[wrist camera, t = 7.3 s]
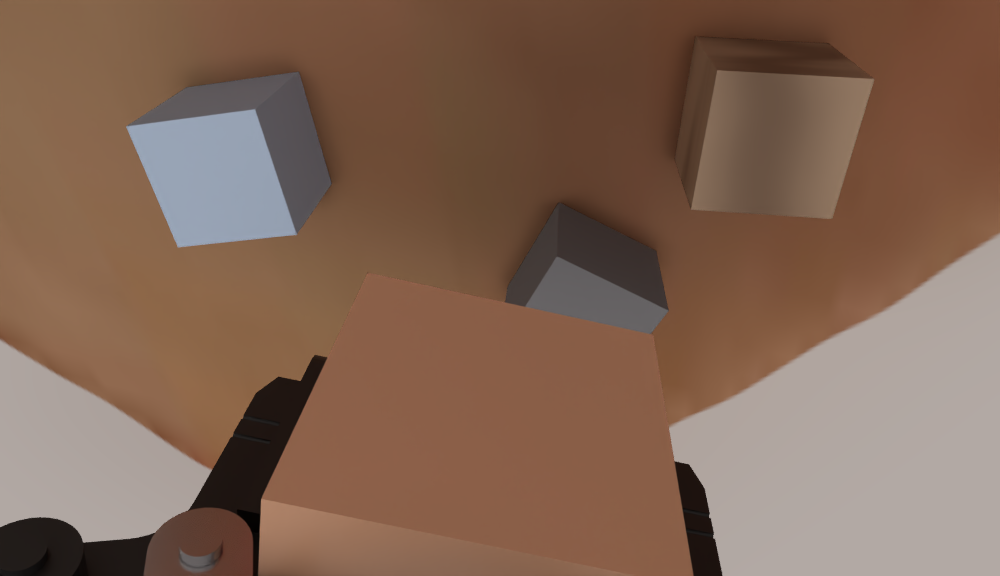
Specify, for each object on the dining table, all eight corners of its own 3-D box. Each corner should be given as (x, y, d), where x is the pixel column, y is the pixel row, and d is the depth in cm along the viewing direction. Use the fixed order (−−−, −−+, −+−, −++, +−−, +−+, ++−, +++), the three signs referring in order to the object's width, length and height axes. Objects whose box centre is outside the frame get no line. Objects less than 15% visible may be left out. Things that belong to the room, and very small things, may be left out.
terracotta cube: (653, 335, 13) (695, 587, 8) (578, 524, 15) (581, 791, 11) (367, 272, 12) (261, 499, 8) (342, 475, 15) (252, 727, 11)
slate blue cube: (299, 71, 30) (254, 109, 26) (332, 183, 32) (296, 234, 28) (187, 86, 31) (126, 126, 26) (227, 195, 33) (178, 247, 29)
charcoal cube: (655, 250, 33) (668, 310, 29) (599, 329, 35) (602, 395, 31) (558, 201, 32) (557, 256, 28) (507, 285, 35) (498, 348, 30)
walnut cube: (827, 42, 28) (874, 79, 23) (795, 166, 30) (832, 218, 26) (695, 35, 28) (717, 70, 24) (674, 158, 31) (690, 209, 26)
